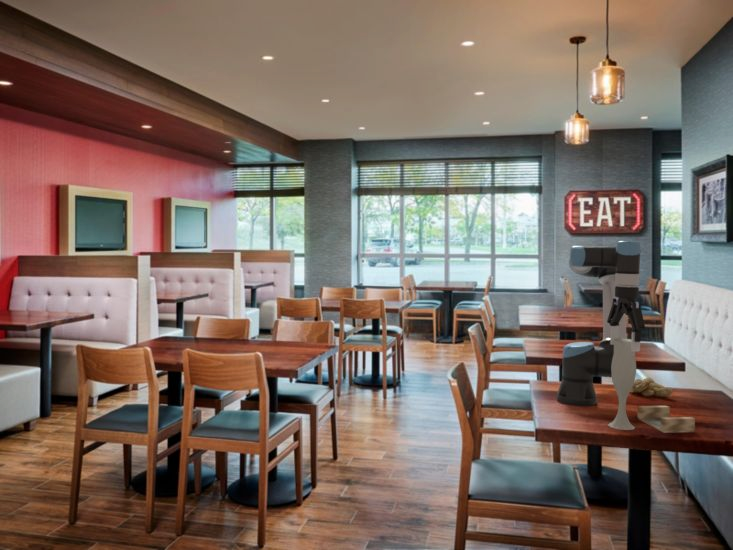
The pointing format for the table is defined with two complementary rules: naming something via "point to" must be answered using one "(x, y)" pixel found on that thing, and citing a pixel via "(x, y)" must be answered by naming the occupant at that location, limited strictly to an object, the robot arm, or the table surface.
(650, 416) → the u rest
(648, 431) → the table surface
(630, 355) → the vase
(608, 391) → the table surface
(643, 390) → the ginger root
